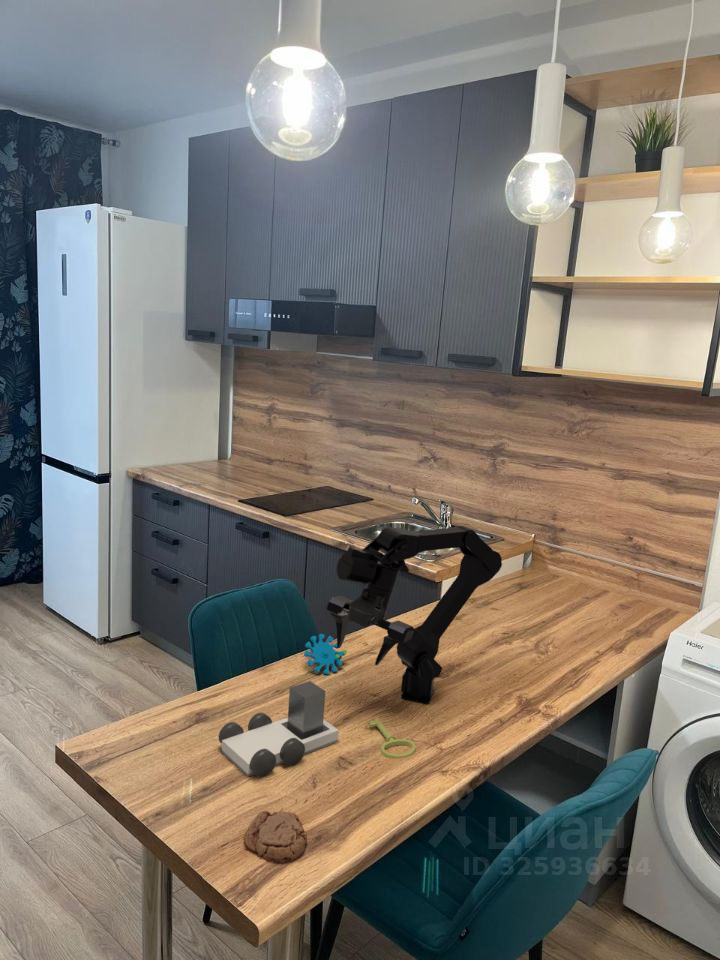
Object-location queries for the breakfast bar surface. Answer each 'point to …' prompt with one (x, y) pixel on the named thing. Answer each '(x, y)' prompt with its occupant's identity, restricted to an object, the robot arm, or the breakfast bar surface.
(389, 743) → the key
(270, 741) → the chassis
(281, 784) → the breakfast bar surface
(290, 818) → the cookie
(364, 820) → the breakfast bar surface
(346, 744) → the breakfast bar surface
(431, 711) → the breakfast bar surface
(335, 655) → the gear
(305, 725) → the block
